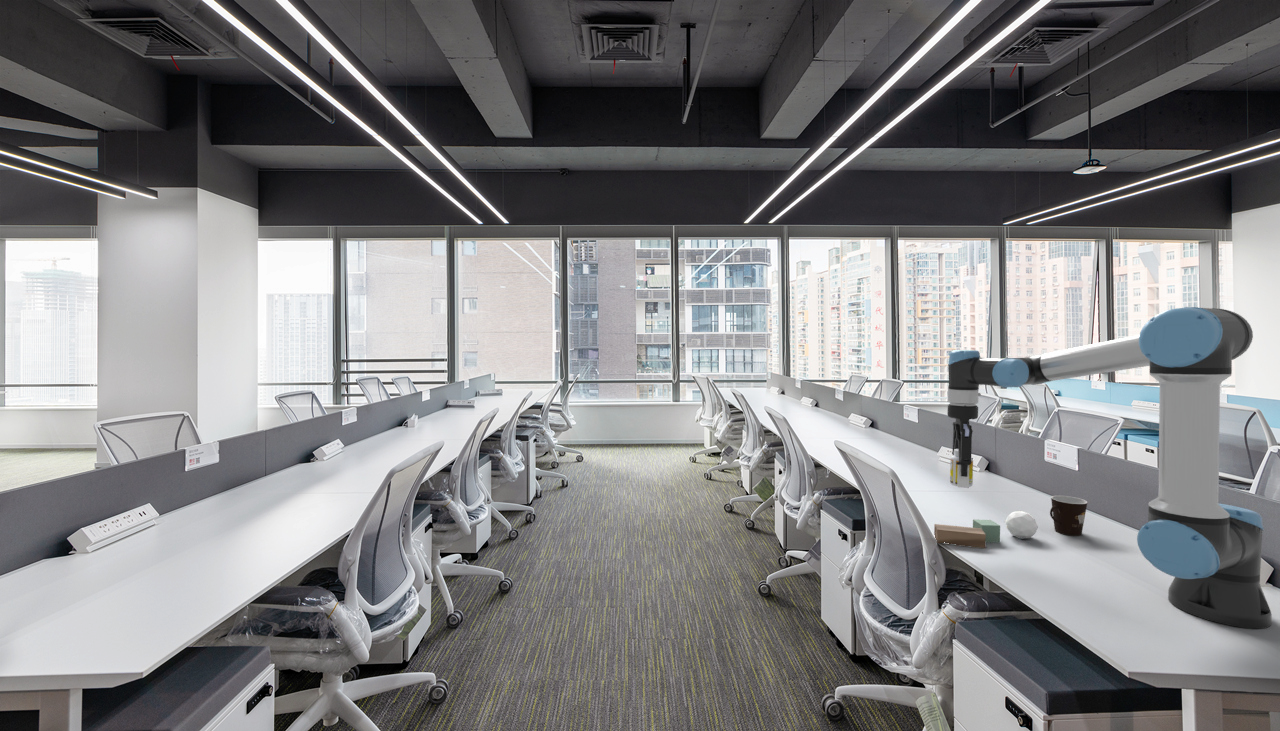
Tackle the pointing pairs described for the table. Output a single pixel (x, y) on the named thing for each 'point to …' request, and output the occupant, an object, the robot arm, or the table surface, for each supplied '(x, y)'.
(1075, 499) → the coffee mug
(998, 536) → the green cube
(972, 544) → the walnut block
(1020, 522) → the geometric ball
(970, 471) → the supplement bottle
